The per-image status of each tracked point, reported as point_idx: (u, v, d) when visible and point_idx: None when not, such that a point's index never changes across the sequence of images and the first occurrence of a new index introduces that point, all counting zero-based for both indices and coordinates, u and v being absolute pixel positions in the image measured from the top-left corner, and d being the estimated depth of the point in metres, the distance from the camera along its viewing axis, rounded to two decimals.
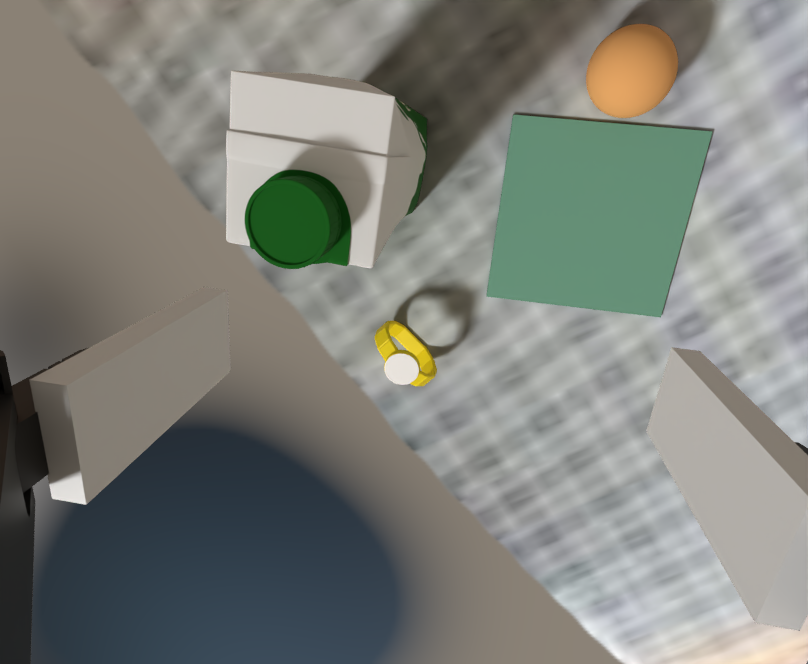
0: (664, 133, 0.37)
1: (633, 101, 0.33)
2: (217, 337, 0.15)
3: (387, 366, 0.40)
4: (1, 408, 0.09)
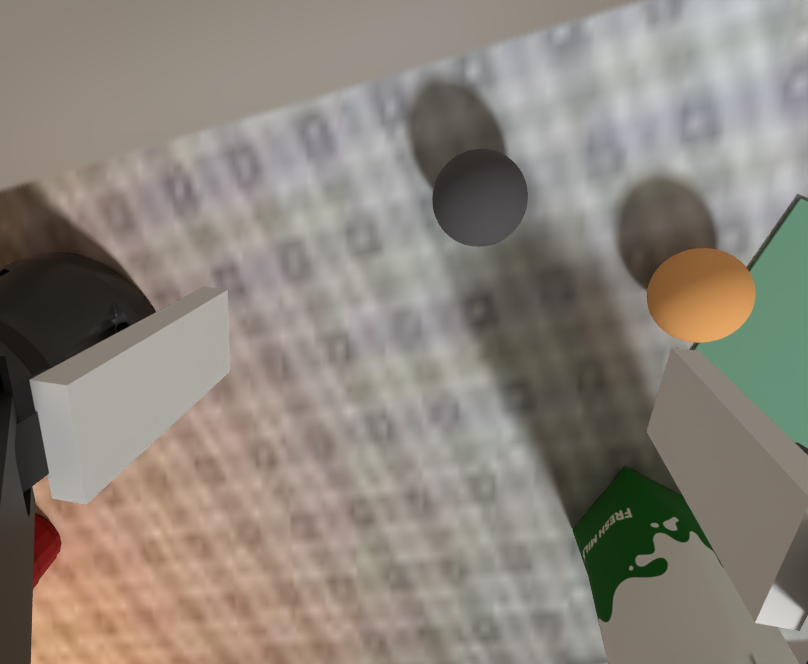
0: (770, 249, 0.31)
1: (744, 317, 0.28)
2: (217, 337, 0.15)
3: None
4: (1, 408, 0.09)
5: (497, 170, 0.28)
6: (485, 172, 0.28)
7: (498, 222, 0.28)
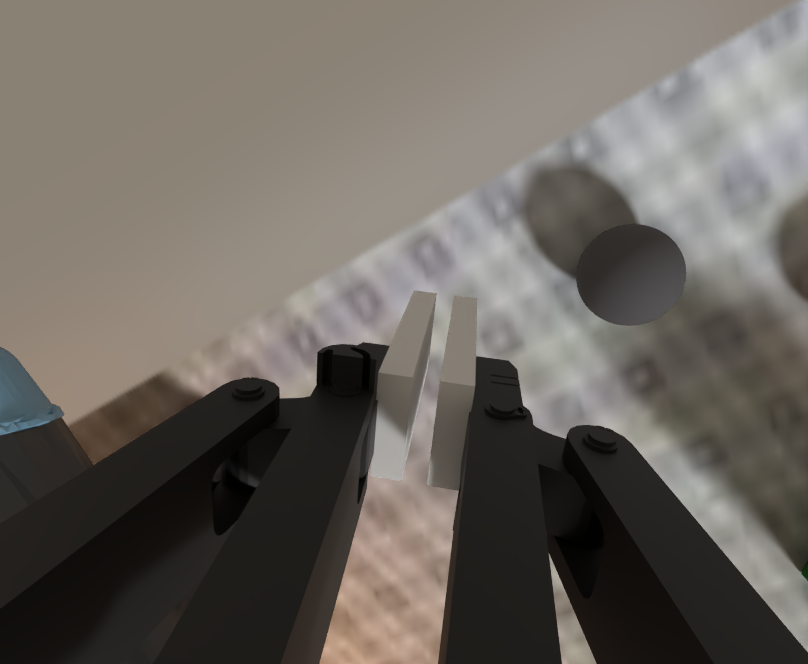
0: None
1: None
2: (430, 336, 0.17)
3: None
4: (362, 404, 0.10)
5: (653, 248, 0.26)
6: (641, 254, 0.26)
7: (667, 299, 0.26)
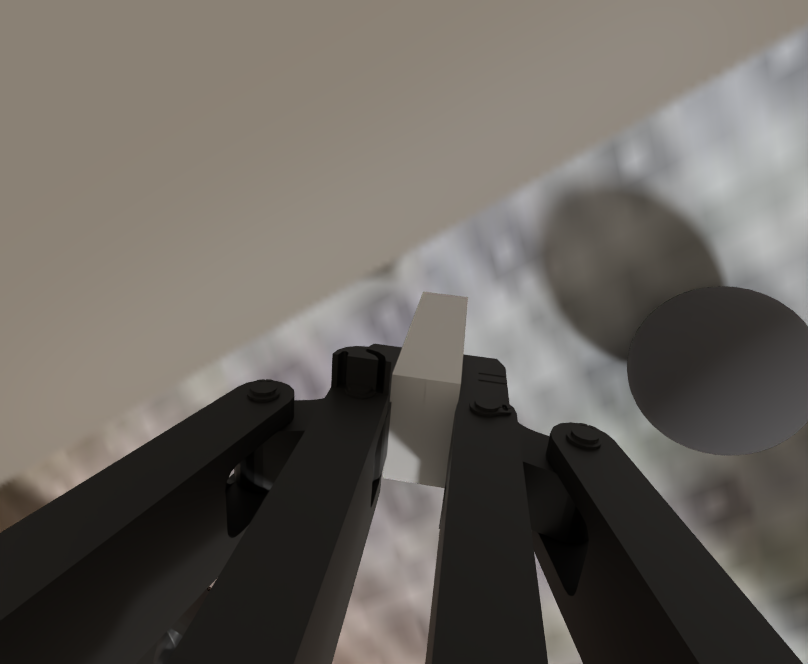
0: None
1: None
2: None
3: None
4: (377, 406, 0.10)
5: (776, 337, 0.15)
6: (757, 349, 0.14)
7: (798, 424, 0.15)
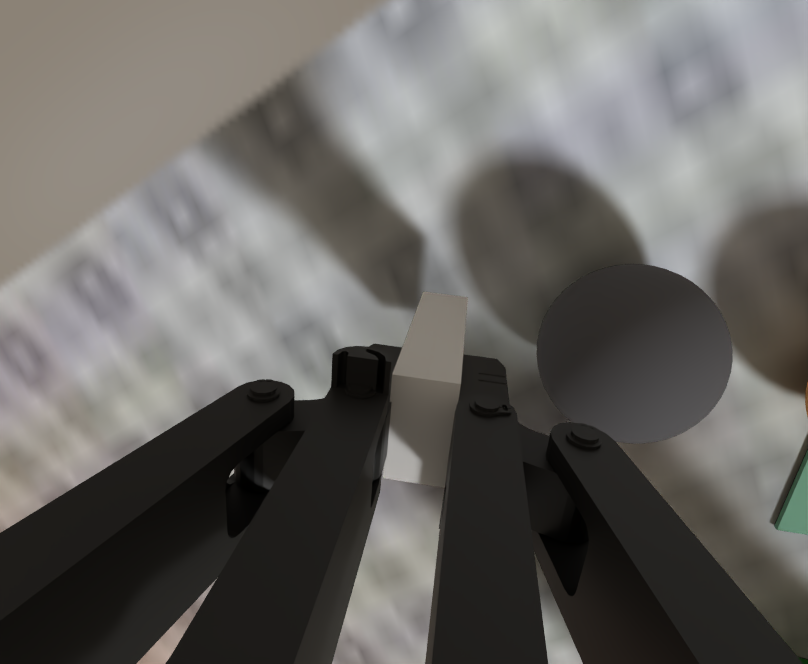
0: None
1: None
2: None
3: None
4: (377, 406, 0.10)
5: None
6: None
7: None
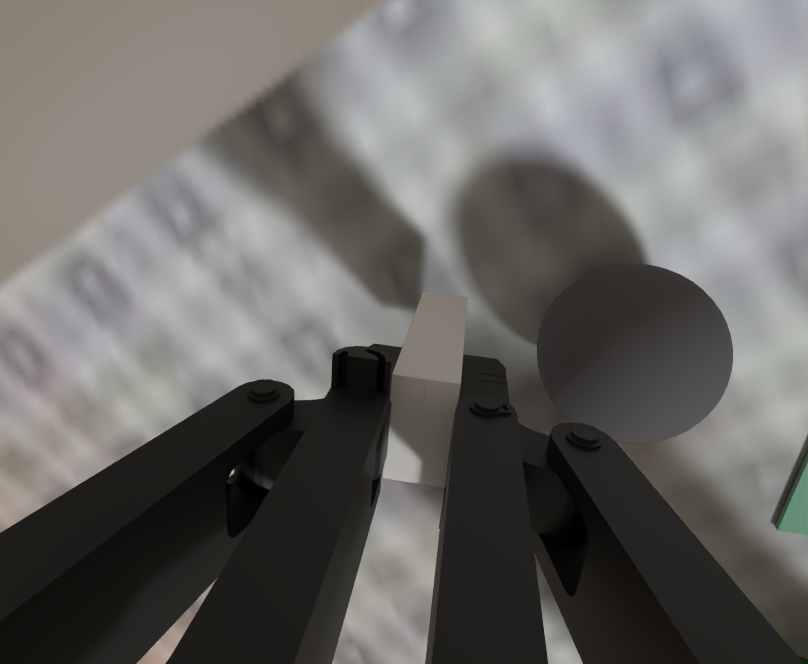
0: None
1: None
2: None
3: None
4: (377, 406, 0.10)
5: None
6: None
7: None
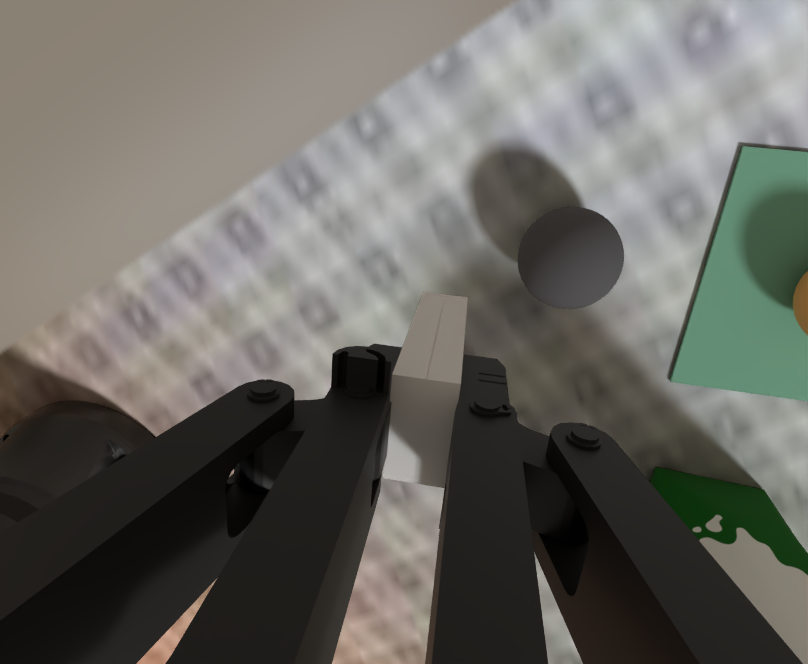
0: (730, 206, 0.29)
1: (796, 288, 0.28)
2: None
3: None
4: (377, 406, 0.10)
5: None
6: None
7: None
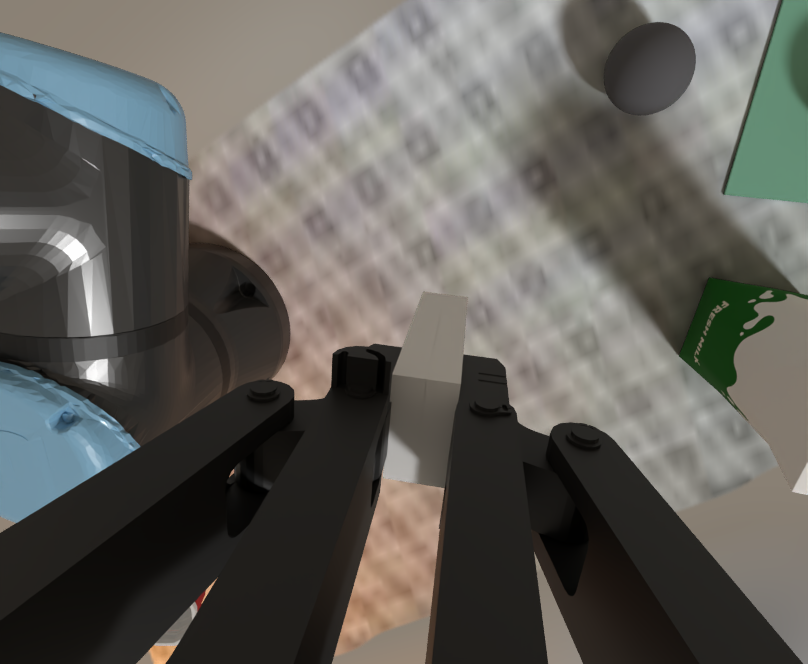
0: (779, 29, 0.35)
1: None
2: None
3: None
4: (376, 406, 0.10)
5: None
6: None
7: None
